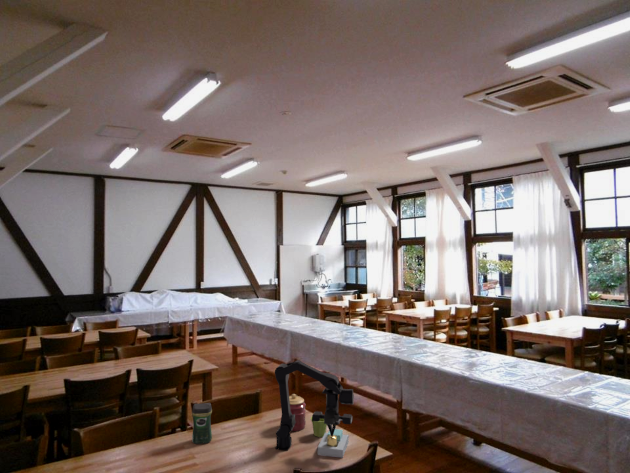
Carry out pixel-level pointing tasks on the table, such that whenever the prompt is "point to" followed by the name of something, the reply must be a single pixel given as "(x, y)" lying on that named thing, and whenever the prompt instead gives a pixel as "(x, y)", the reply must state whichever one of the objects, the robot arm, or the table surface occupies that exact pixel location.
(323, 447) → the jig
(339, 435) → the teal block
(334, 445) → the brass cylinder
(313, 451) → the table surface
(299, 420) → the canister
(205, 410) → the coffee jar
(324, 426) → the plant pot
